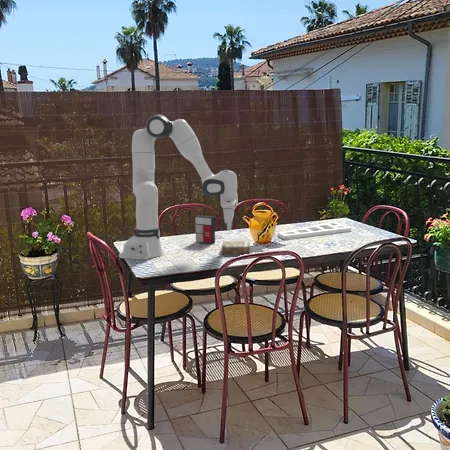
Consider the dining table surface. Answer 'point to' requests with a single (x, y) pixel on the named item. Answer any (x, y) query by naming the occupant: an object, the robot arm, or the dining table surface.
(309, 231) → the holder
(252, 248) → the mat
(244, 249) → the tall block
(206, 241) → the grey and red box
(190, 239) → the dining table surface
